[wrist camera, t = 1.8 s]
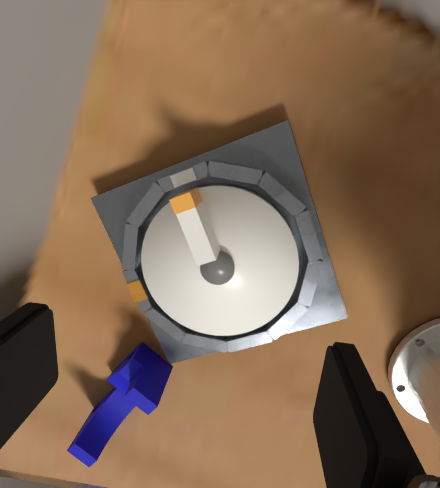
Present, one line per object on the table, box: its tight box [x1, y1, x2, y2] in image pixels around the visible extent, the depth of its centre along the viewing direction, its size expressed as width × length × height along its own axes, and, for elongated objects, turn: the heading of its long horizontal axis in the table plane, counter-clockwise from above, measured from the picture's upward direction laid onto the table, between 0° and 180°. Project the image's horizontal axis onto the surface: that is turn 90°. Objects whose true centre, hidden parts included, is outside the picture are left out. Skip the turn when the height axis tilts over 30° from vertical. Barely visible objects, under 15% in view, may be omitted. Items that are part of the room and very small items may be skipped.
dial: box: [141, 184, 299, 336], centre depth 28 cm, size 14×14×5 cm
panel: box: [91, 120, 348, 364], centre depth 30 cm, size 19×19×4 cm
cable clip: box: [67, 342, 173, 467], centre depth 35 cm, size 12×4×6 cm, turn 138°
